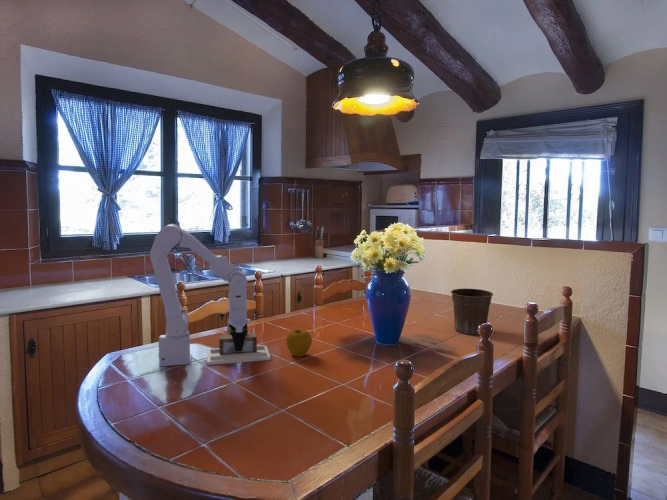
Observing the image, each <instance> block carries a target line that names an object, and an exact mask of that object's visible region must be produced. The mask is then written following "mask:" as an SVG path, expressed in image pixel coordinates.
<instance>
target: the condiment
mask: <svg viewBox="0 0 667 500" xmlns="http://www.w3.org/2000/svg"><path fill="white" fill-rule="evenodd" d="M226 322H227V323H226V328H227V329H226V332H227V333H226V335H231V334H230V330H231V328H230V326H229V318H226ZM244 330H248V323H246V325H245V327H244Z"/></svg>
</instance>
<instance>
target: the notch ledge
mask: <svg viewBox="0 0 667 500" xmlns="http://www.w3.org/2000/svg"><path fill="white" fill-rule="evenodd" d="M206 353H207V356H206V358H207V359H206V365H207V366H211V365H223V364H235V363H236V364H237V363H246V362H247V363H248V362H260V361H271V355H270V352H269V349H268V347H267V345H265V344H260V345H259V344H257V352H252V353H239V354H226V355H220V353H219V347H216V348H213V347H212V348H210V349H207V351H206Z"/></svg>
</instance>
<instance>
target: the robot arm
mask: <svg viewBox="0 0 667 500" xmlns="http://www.w3.org/2000/svg"><path fill="white" fill-rule="evenodd" d="M178 244H179V245H178ZM177 245H178V247H179V248H187V249H190V250H191V251H192V252H193V253H195V254H196V255H198V256H199V257H200V258H202V259H203V260H204V261H206V263H208V267H209V270H211V271H212V272H213V273H214V274H215V275H217V277H219V278H220V279H221V280H223V281H224V282H227V283H228V285H229V293H228V319H229V326H230V328H231V330H230V334H231V336H232V338H233V341H234V346H235V350H236V351H242V349H243V345H244V340H245V337H246V335H247V334H249V333H248V332H249V330H248V329H247V330H244V327H245V325H246V323H247V324H248V323H251V319H250V318H248V317H247V316H248V315H247V314H248V310H247V306H248V302H247V299H248V298H247V297H248V296H247V295H248V294H247V286H248V279H247V277H246V274H245V273H244V272H243V271H242V270H241V269H240V267H238V266H235V265H234V264H233V263H231V262H230V261H229V258H228V257H227V256H226V255H225V256H223V255H220V254H219V255H218V254H217V255H216V254H214V253H213V252H212V251H210V250H209V248H207V247H206V246H205V245H204V244H203V243H202V242H201V241H199V240H198V239H197V238H196V237H195V236H194V235H192V234H191V233H190V232H188V231H186V229H183V228H181V227H180V226H179V225H178V224H175V223H170V224H169V223H168V224H167V225H166V226H163V227H162V228H161V229H160V230H159V232H157V234H156V235H155V238H154V240H153V243H152V247H151V249H150V252H149V258H150V261H151V265H152V268H153V272H154V275H155V278H156V283H157V286H158V289H159V292H160V295H161V299H162V303H163V307H164V312H165V313H164V315H165V320H166V324H165V330H166V331H165V332H166V333H165V334H163V335H162V334H161V335H159V336H158V337H159V338H158V359H159V360H158V366H159V367H168V366H170V367H171V366H180V365H191V364H192V358H193V354H191V344H190V342H191V339H190V335H191V334H190V333H191V332H190V331H189V330H188V323H189V321H190V320H189V316H188V314H187V312H185V311H184V308H183V306H182V304H181V301H180V297H179V294H178V291H177V288H176V284H175V280H174V276H173V273H172V269H171V266H170V263H169V259H168V255H169V254H170V251H171V250H172V249H173V248H174V247H176V246H177Z"/></svg>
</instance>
